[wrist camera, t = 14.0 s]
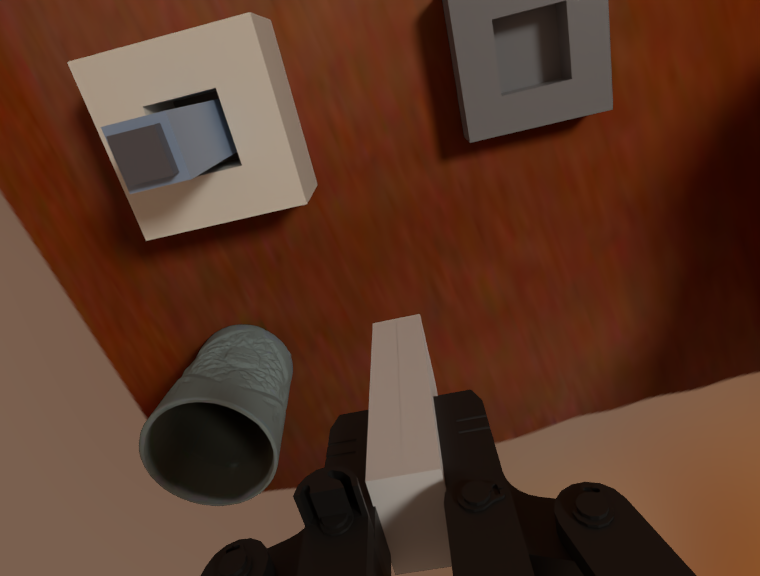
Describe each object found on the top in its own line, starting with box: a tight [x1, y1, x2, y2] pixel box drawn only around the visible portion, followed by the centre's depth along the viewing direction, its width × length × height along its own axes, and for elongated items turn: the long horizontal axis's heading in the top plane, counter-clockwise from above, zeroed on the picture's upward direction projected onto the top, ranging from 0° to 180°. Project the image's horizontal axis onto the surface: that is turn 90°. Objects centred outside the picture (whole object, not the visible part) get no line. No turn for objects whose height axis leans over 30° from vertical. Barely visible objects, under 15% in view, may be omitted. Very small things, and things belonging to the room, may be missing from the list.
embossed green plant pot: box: [139, 325, 293, 506], centre depth 42 cm, size 10×10×12 cm
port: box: [67, 12, 317, 241], centre depth 36 cm, size 12×12×6 cm
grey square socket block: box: [442, 0, 613, 143], centre depth 35 cm, size 10×10×3 cm
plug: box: [101, 99, 237, 194], centre depth 32 cm, size 4×4×13 cm
